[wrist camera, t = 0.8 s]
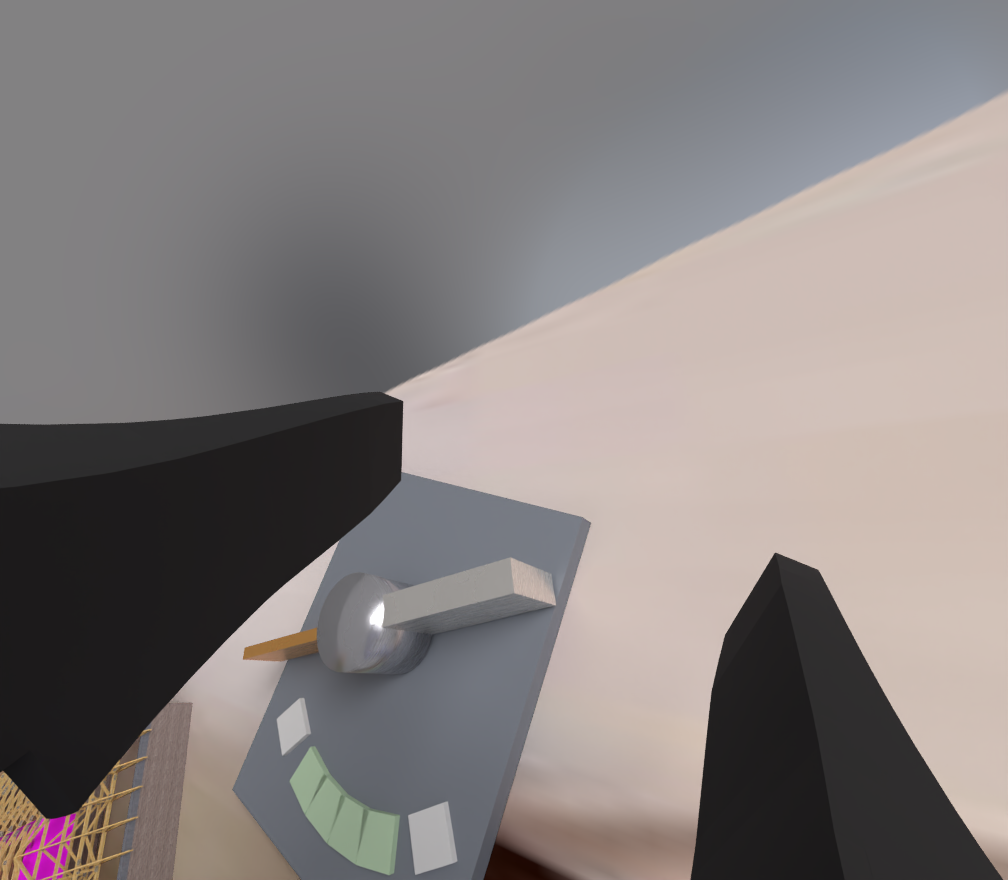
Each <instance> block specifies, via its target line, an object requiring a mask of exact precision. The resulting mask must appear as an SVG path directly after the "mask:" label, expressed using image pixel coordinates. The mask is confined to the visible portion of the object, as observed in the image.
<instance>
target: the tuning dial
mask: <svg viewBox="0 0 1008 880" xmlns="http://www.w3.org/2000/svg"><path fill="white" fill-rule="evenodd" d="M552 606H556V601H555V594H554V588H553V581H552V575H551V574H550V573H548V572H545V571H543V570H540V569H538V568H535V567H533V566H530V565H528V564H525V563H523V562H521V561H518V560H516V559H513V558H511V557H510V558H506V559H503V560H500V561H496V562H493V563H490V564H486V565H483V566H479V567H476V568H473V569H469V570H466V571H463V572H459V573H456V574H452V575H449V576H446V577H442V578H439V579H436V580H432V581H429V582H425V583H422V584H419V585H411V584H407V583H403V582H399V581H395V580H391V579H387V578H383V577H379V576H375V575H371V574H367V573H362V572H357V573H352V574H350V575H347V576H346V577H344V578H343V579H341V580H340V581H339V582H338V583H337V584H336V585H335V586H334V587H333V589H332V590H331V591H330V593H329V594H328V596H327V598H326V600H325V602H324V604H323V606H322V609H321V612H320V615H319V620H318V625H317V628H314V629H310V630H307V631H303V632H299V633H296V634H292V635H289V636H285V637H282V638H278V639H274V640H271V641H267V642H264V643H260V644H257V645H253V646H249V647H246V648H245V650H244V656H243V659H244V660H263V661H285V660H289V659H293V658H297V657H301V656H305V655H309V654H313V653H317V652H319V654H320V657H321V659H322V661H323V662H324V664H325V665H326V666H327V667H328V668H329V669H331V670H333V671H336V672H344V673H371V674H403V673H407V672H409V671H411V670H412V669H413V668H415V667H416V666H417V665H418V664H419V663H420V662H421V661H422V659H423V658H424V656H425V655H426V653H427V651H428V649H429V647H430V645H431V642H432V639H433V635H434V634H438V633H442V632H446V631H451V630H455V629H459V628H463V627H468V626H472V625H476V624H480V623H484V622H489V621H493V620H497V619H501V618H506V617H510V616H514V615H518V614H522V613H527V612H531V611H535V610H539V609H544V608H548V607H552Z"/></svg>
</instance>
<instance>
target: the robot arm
mask: <svg viewBox="0 0 1008 880" xmlns="http://www.w3.org/2000/svg"><path fill="white" fill-rule="evenodd" d="M402 426H403V401H401V400H399V399H396V398H394V397H391V396H389V395H387V394H384V393H382V392H368V393H359V394H351V395H343V396H337V397H330V398H324V399H318V400H312V401H306V402H300V403H294V404H288V405H282V406H276V407H269V408H264V409H255V410H248V411H241V412H233V413H226V414H219V415H212V416H204V417H196V418H185V419H175V420H161V421H147V422H135V423H104V424H60V425H59V424H58V425H30V424H29V425H28V424H27V425H26V424H0V772H2V771H4V772H5V773H6V774H7V775H8V777H9V778H10V779H11V780H12V781H13V782H14V783H15V784H16V785H17V787H18V788H19V789H20V790H21V791H22V792H23V793H24V794H25V796H26V797H27V798H28V799H29V800H30V801H31V802H32V803H33V805H34V806H35V807H36V808H37V809H38V810H39V811H40V812H41V814H42V815H43V816H44V817H45V818H46V819H56V818H60V817H64V816H68V815H70V814H73V813H75V812H77V811H79V810H80V808H81V807H82V806H83V804H84V803H85V802H86V801H87V799H88V798H89V797H90V796H91V794H92V793H93V792H94V790H95V789H96V788H97V787H98V785H99V784H100V783H101V782H102V781H103V779H104V778H105V777H106V776H107V774H108V773H109V772H110V771H111V770H112V768H113V767H114V766H115V765H116V764H117V762H118V761H119V760H120V759H121V757H122V756H123V755H124V754H125V753H126V751H127V750H128V749H129V748H130V747H131V745H132V744H133V743H134V742H135V740H136V739H137V738H138V737H139V736H140V734H141V733H142V732H143V731H144V730H145V729H146V727H147V726H148V725H149V724H150V723H151V722H152V721H153V720H154V718H155V717H156V716H157V715H158V714H159V713H160V712H161V711H162V709H163V708H164V707H165V706H166V705H167V704H168V703H169V701H170V700H171V699H172V698H173V697H174V696H175V695H176V694H177V692H178V691H179V690H180V689H181V688H182V687H183V686H184V685H185V683H186V682H187V681H188V680H189V679H190V678H191V677H192V676H193V675H194V674H195V673H196V672H197V671H198V670H199V668H200V667H201V666H202V665H203V664H204V663H205V662H206V661H207V660H208V659H209V658H210V657H211V656H212V655H213V654H214V653H215V652H216V651H217V650H218V648H219V647H220V646H221V645H222V644H223V643H224V642H225V641H226V640H227V639H228V638H229V637H230V636H231V635H232V634H233V633H234V632H235V631H236V630H237V629H238V628H239V627H240V626H241V625H242V624H243V623H244V622H245V621H246V620H247V619H248V618H249V617H250V616H251V615H252V614H253V613H254V612H255V611H256V610H257V609H258V608H259V607H260V606H261V605H262V604H263V603H264V602H265V601H266V600H267V599H269V598H270V597H271V596H272V595H273V594H274V593H275V592H277V591H278V590H279V589H280V588H281V587H282V586H283V585H285V584H286V583H287V582H288V581H289V580H291V579H292V578H293V577H294V576H296V575H297V574H298V573H299V572H300V571H302V570H303V569H304V568H305V567H307V566H308V565H309V564H310V563H312V562H313V561H314V560H315V559H316V558H318V557H319V556H320V555H321V554H323V553H324V552H325V551H326V550H328V549H329V548H330V547H331V546H332V545H334V544H335V543H336V542H337V541H339V540H340V539H341V538H342V537H344V536H345V535H346V534H347V533H348V532H350V531H351V530H352V529H353V528H354V527H356V526H357V525H358V524H359V523H360V522H362V521H363V520H364V519H365V518H366V517H367V516H369V515H370V514H371V513H372V512H373V511H374V510H375V509H376V508H377V507H378V506H379V504H380V503H381V502H382V501H383V500H384V499H385V498H386V497H387V496H388V495H389V494H390V493H391V491H392V490H393V489H394V488H395V487H396V486H397V485H398V483H399V482H400V481H401V467H402ZM691 880H1003V879H1002V878H1001V876H1000V875H999V873H998V872H997V870H996V869H995V868H994V866H993V865H992V863H991V862H990V860H989V859H988V858H987V856H986V855H985V853H984V852H983V850H982V849H981V848H980V846H979V845H978V843H977V842H976V840H975V839H974V837H973V836H972V834H971V833H970V831H969V830H968V828H967V827H966V825H965V824H964V822H963V821H962V819H961V818H960V816H959V815H958V813H957V812H956V810H955V808H954V807H953V805H952V804H951V802H950V801H949V799H948V797H947V796H946V794H945V793H944V791H943V789H942V788H941V786H940V785H939V783H938V782H937V780H936V778H935V777H934V775H933V774H932V772H931V770H930V769H929V767H928V766H927V764H926V762H925V761H924V759H923V758H922V756H921V754H920V753H919V751H918V750H917V748H916V746H915V745H914V743H913V742H912V740H911V738H910V736H909V735H908V733H907V731H906V730H905V728H904V726H903V725H902V723H901V721H900V720H899V718H898V716H897V715H896V713H895V711H894V709H893V708H892V706H891V704H890V702H889V701H888V699H887V697H886V696H885V694H884V692H883V690H882V688H881V687H880V685H879V683H878V681H877V679H876V678H875V676H874V674H873V672H872V671H871V669H870V667H869V665H868V663H867V661H866V660H865V658H864V656H863V654H862V652H861V650H860V648H859V647H858V645H857V643H856V641H855V639H854V637H853V635H852V633H851V631H850V629H849V628H848V626H847V624H846V622H845V620H844V618H843V616H842V614H841V612H840V610H839V608H838V606H837V604H836V603H835V601H834V599H833V597H832V595H831V593H830V591H829V589H828V587H827V585H826V583H825V581H824V579H823V578H822V576H821V574H820V572H819V570H817V569H815V568H812V567H810V566H807V565H805V564H802V563H800V562H797V561H795V560H792V559H790V558H788V557H785V556H783V555H780V554H778V553H775V554H774V555H773V557H772V559H771V560H770V562H769V564H768V565H767V567H766V569H765V570H764V572H763V573H762V575H761V577H760V578H759V580H758V582H757V583H756V585H755V587H754V588H753V590H752V592H751V593H750V595H749V597H748V598H747V600H746V601H745V603H744V605H743V606H742V608H741V610H740V611H739V613H738V615H737V616H736V618H735V620H734V621H733V623H732V625H731V626H730V628H729V629H728V631H727V633H726V634H725V638H724V642H723V646H722V650H721V654H720V658H719V662H718V666H717V670H716V675H715V679H714V684H713V688H712V693H711V702H710V711H709V720H708V730H707V739H706V749H705V759H704V768H703V778H702V788H701V798H700V808H699V818H698V828H697V838H696V846H695V853H694V860H693V867H692V874H691Z"/></svg>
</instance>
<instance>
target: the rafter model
mask: <svg viewBox="0 0 1008 880" xmlns="http://www.w3.org/2000/svg"><path fill="white" fill-rule="evenodd" d="M191 712H192V703H168V704H167V705H166V706H165V707H164V708H163V709H162V711H161V712H160V713H159V714H158V715H157V716H156V717H155V718H154V720H153V721H152V722H151V723H150V724H149V725H148V726H147V727H146V729H145V730H144V731H143V732H142V733H141V734H140V736H141V737H140V736H139V737H140V743H139V749H138V755H137V759H136V760H133V761H130V762H127V763H124V764H121V765H119V763H120V760H119V761H118V762H117V764H116V765H115V766H114V767H113V768H112V770H111V771H112V772H111V771H110V772H109V773H108V774H107V776H106V777H105V778H104V779H103V781H102V782H101V783H100V784H99V785H98V787H97V788H96V789H95V790H94V792H93V793H92V794H91V796H90V797H89V798H88V799H87V801H86V802H85V803H84V804H83V806H82V807H81V808H80V810H79V811H77V812H75V813H73V814H70V815H68V816H64V817H60V818H56V819H46V818H45V817H44V816H42V814H41V812H40V811H39V812H38V814H37V813H36V812H37V811H38V809H37V808H35V806H34V805H33V803H32V802H31V801H30V800H29V799H28V798H27V797H26V796H25V794H24V793H23V792H22V791H21V790H20V789H19V788H18V787H17V785H16V784H15V783H14V782H13V781H11V779H10V778H9V779H8V782H7V783H6V785H4V786H3V784H4V783H5V781H6V780H7V778H8V775H6V773H3V774H2V775H1V777H0V781H1V782H0V825H2V828H1V830H0V874H1V870H2V868H3V874H2V878H1V880H8V875H9V872H10V868H11V864H12V860H13V859H14V870H13V874H12V877H11V880H91V878H92V876H93V875H94V877H93V880H98V877H99V872H100V866H101V864H102V863H104V862H107V861H109V860H112V859H114V858H117V857H119V856H121V858H120V864H119V870H118V876H117V880H172V879H173V870H174V861H175V853H176V844H177V835H178V826H179V817H180V809H181V800H182V791H183V782H184V773H185V765H186V756H187V747H188V738H189V729H190V720H191ZM134 764H136V767H135V773H134V779H133V785H132V789H129V790H126V791H123V792H120V793H117V794H114V790H115V784H116V779H117V773H118V772H120V771H122V770H124V769H126V768H128V767H130V766H132V765H134ZM126 765H128V766H126ZM122 766H126V767H124V768H122V769H120V768H121V767H122ZM111 774H113V776H112V782H111V787H110V792H109V791H108V787H109V782H110V777H111ZM129 793H131V797H130V803H129V809H128V815H127V820H124V821H121V822H118V823H115V824H112V825H109V826H108V823H109V817H110V812H111V806H112V801H114V800H116V799H118V798H121V797H123V796H125V795H127V794H129ZM118 795H120V796H118ZM116 796H118V797H116ZM115 797H116V798H115ZM24 798H25V802H24V804H23V799H24ZM106 799H107V800H106ZM15 803H16V806H15V808H14V804H15ZM20 804H21V805H20ZM106 804H107V808H106V814H105V819H104V824H103V828H101V824H102V819H103V814H104V808H105V806H106ZM27 806H29V808H27ZM20 807H21V809H20ZM6 808H7V810H6V812H5V809H6ZM10 809H11V811H10ZM34 809H35V810H34ZM26 810H27V811H26ZM18 811H19V812H18ZM17 812H18V813H17ZM29 812H30V814H29V818H28V819H27V818H26V817H27V815H28V813H29ZM10 813H11V814H10ZM20 815H21V817H20V820H19V824H17V823H16V821H17V819H18V818H19V816H20ZM8 816H9V817H8ZM34 816H36V818H37V819H36V820H35V821H32V819H33V817H34ZM1 817H2V818H1ZM10 820H11V824H10V827H9V828H8V829H7V827H6V826H7V824H8V823H9V821H10ZM24 820H25V822H26V825H25V826H23V827H22V823H23V821H24ZM31 821H32V822H31ZM125 823H126V827H125V834H124V840H123V846H122V852H121V853H119V854H116V855H113V856H110V857H107V858H104V859H102V855H103V850H104V844H105V839H106V833H107V831H109V830H112V829H114V828H116V827H118V826H121V825H123V824H125ZM14 825H15V827H16V829H15V830H14V831H13V832H12V830H13V826H14ZM113 826H114V827H113ZM110 827H112V828H110ZM109 828H110V829H109ZM4 830H5V831H6V833H5V835H4V836H3V834H4ZM100 830H102V831H100ZM100 833H102V835H101V840H100V846H99V851H98V856H97V861H96V860H95V856H96V851H97V845H98V840H99V835H100ZM20 840H21V843H20V847H19V850H18V851H17V853H16V855H15V856H14V853H15V849H16V846H17V844H18V842H19V841H20ZM8 846H10V849H9V852H8V854H7V856H6V858H5V855H6V852H7V848H8ZM25 848H26V850H25ZM24 850H25V854H23V852H24ZM22 856H24V858H23V861H21V859H22ZM13 857H14V858H13ZM104 860H105V861H104ZM19 867H20V872H19ZM93 867H94V868H93Z"/></svg>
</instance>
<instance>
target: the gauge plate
mask: <svg viewBox="0 0 1008 880" xmlns="http://www.w3.org/2000/svg"><path fill="white" fill-rule="evenodd" d="M590 524H591V523H590V522H589V521H587V520H586V519H584V518H583V517H579V516H575V515H571V514H567V513H563V512H559V511H555V510H551V509H547V508H543V507H539V506H535V505H531V504H527V503H523V502H519V501H515V500H511V499H507V498H503V497H499V496H495V495H491V494H487V493H483V492H479V491H475V490H471V489H467V488H463V487H459V486H455V485H451V484H447V483H443V482H439V481H435V480H431V479H427V478H423V477H419V476H415V475H411V474H407V473H403V472H401V481H400V482H399V483H398V485H397V486H396V487H395V488H394V489H393V490H392V491H391V493H390V494H389V495H388V496H387V497H386V498H385V499H384V500H383V501H382V502H381V503H380V504H379V506H378V507H377V508H376V509H375V510H374V511H373V512H372V513H371V514H370V515H369V516H367V517H366V518H365V519H364V520H363V521H362V522H360V523H359V524H358V525H357V526H356V527H354V528H353V529H352V530H351V531H350V532H348V533H347V534H346V535H345V536H344V537H342V538H341V539H340V541H339V543H338V545H337V548H336V550H335V552H334V555H333V557H332V559H331V562H330V564H329V566H328V568H327V571H326V573H325V575H324V578H323V580H322V582H321V585H320V587H319V589H318V592H317V594H316V596H315V599H314V601H313V603H312V606H311V608H310V610H309V613H308V615H307V617H306V620H305V622H304V624H303V627H302V629H301V631H300V632H303V631H307V630H310V629H314V628H317V625H318V620H319V615H320V612H321V609H322V606H323V604H324V602H325V600H326V598H327V596H328V594H329V593H330V591H331V590H332V589H333V587H334V586H335V585H336V584H337V583H338V582H339V581H340V580H341V579H343V578H344V577H346V576H347V575H350V574H352V573H357V572H362V573H367V574H371V575H375V576H379V577H383V578H387V579H391V580H395V581H399V582H403V583H407V584H411V585H419V584H422V583H425V582H429V581H432V580H436V579H439V578H442V577H446V576H449V575H452V574H456V573H459V572H463V571H466V570H469V569H473V568H476V567H479V566H483V565H486V564H490V563H493V562H496V561H500V560H503V559H506V558H510V557H511V558H513V559H516V560H518V561H521V562H523V563H525V564H528V565H530V566H533V567H535V568H538V569H540V570H543V571H545V572H548V573H550V574H551V575H552V581H553V588H554V594H555V601H556V606H552V607H548V608H544V609H539V610H535V611H531V612H527V613H522V614H518V615H514V616H510V617H506V618H501V619H497V620H493V621H489V622H484V623H480V624H476V625H472V626H468V627H463V628H459V629H455V630H451V631H446V632H442V633H438V634H434V635H433V639H432V642H431V645H430V647H429V649H428V651H427V653H426V655H425V656H424V658H423V659H422V661H421V662H420V663H419V664H418V665H417V666H416V667H415V668H413V669H412V670H411V671H409V672H407V673H403V674H371V673H344V672H336V671H333V670H331V669H329V668H328V667H327V666H326V665H325V664H324V662H323V661H322V659H321V657H320V654H319V652H317V653H313V654H309V655H305V656H301V657H297V658H293V659H289V660H288V661H287V664H286V666H285V668H284V671H283V673H282V675H281V678H280V680H279V682H278V685H277V687H276V689H275V692H274V694H273V696H272V699H271V701H270V703H269V706H268V708H267V710H266V713H265V715H264V717H263V720H262V722H261V724H260V726H259V729H258V731H257V733H256V736H255V738H254V740H253V743H252V745H251V747H250V750H249V752H248V754H247V757H246V759H245V761H244V764H243V766H242V768H241V771H240V773H239V775H238V778H237V780H236V782H235V785H234V787H233V789H232V790H233V791H234V793H235V794H236V795H237V796H238V798H239V799H240V800H241V802H242V803H243V804H244V806H245V807H246V808H247V809H248V811H249V812H250V813H251V815H252V816H253V817H254V819H255V820H256V821H257V823H258V824H259V825H260V826H261V828H262V829H263V830H264V832H265V833H266V834H267V836H268V837H269V838H270V840H271V841H272V842H273V843H274V845H275V846H276V847H277V849H278V850H279V851H280V853H281V854H282V855H283V856H284V858H285V859H286V860H287V862H288V863H289V864H290V866H291V867H292V868H293V870H294V871H295V872H296V873H297V875H298V876H299V877H300V879H301V880H483V879H484V876H485V872H486V869H487V866H488V862H489V859H490V856H491V852H492V849H493V846H494V842H495V839H496V836H497V833H498V829H499V826H500V823H501V819H502V816H503V813H504V809H505V806H506V803H507V799H508V796H509V793H510V789H511V786H512V783H513V780H514V776H515V773H516V770H517V766H518V763H519V760H520V756H521V753H522V750H523V746H524V743H525V740H526V736H527V733H528V730H529V726H530V723H531V720H532V717H533V713H534V710H535V707H536V703H537V700H538V697H539V693H540V690H541V687H542V683H543V680H544V677H545V673H546V670H547V667H548V664H549V660H550V657H551V654H552V650H553V647H554V644H555V640H556V637H557V634H558V630H559V627H560V624H561V620H562V617H563V614H564V611H565V607H566V604H567V601H568V597H569V594H570V591H571V587H572V584H573V581H574V577H575V574H576V571H577V567H578V564H579V561H580V558H581V554H582V551H583V548H584V544H585V541H586V538H587V534H588V531H589V528H590Z"/></svg>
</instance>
